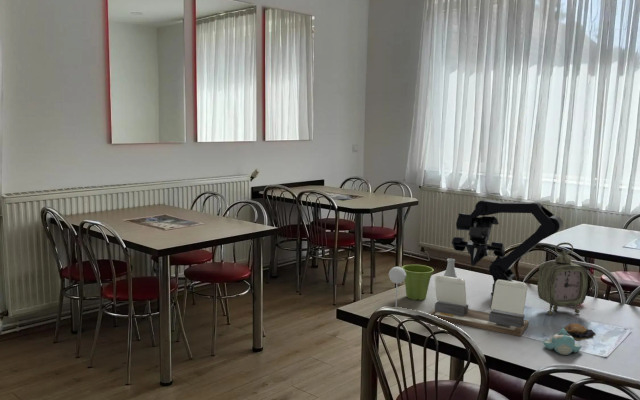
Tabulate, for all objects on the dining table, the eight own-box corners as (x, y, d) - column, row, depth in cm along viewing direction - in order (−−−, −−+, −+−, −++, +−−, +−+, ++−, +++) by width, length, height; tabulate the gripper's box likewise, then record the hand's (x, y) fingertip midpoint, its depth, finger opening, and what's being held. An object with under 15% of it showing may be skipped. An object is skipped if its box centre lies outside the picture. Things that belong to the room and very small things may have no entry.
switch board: (440, 308, 206) (441, 296, 206) (528, 324, 191) (529, 312, 190) (428, 317, 196) (429, 305, 195) (520, 336, 181) (520, 323, 180)
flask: (460, 286, 234) (461, 261, 232) (442, 285, 234) (443, 261, 232) (456, 280, 241) (458, 257, 239) (439, 280, 241) (440, 257, 240)
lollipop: (406, 306, 207) (408, 266, 205) (402, 311, 202) (403, 269, 199) (390, 304, 209) (391, 263, 207) (385, 309, 204) (386, 267, 202)
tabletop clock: (547, 317, 198) (553, 245, 195) (532, 308, 207) (537, 240, 203) (585, 315, 201) (591, 244, 198) (568, 306, 210) (574, 239, 206)
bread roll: (578, 343, 177) (578, 332, 177) (554, 334, 185) (555, 323, 184) (599, 337, 183) (600, 325, 182) (575, 328, 190) (576, 317, 189)
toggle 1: (438, 297, 201) (436, 273, 196) (466, 303, 195) (465, 278, 191) (436, 301, 199) (434, 276, 195) (465, 306, 194) (463, 281, 190)
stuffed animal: (579, 326, 175) (586, 333, 163) (578, 350, 175) (584, 358, 163) (541, 322, 178) (545, 328, 166) (540, 346, 178) (544, 353, 166)
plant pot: (429, 304, 210) (430, 274, 209) (397, 300, 214) (398, 270, 213) (434, 294, 221) (436, 266, 220) (404, 291, 225) (405, 263, 224)
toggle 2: (492, 309, 192) (497, 279, 194) (523, 315, 186) (528, 284, 189) (490, 308, 190) (495, 278, 192) (522, 314, 185) (527, 283, 187)
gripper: (454, 215, 219) (443, 249, 212) (504, 221, 210) (494, 256, 202) (460, 232, 227) (449, 266, 219) (508, 238, 218) (499, 273, 210)
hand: (472, 265), depth 213 cm, fingers closed
